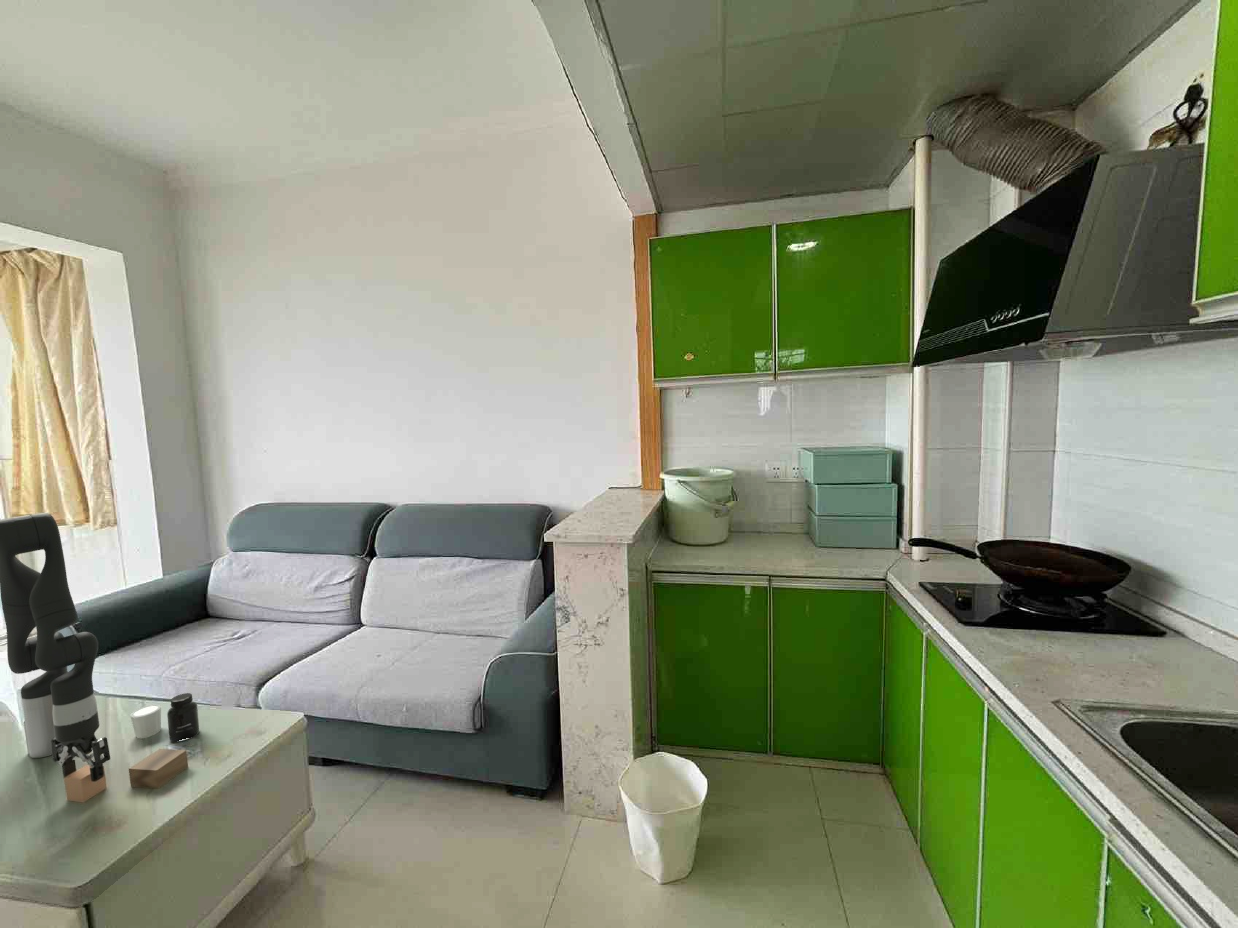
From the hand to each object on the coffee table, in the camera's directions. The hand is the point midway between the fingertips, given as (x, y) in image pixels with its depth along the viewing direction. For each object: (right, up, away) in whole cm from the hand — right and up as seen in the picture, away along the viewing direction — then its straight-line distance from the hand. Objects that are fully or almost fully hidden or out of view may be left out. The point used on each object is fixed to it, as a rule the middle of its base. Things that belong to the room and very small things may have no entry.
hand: (84, 777), depth 130 cm
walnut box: (+13, -4, +7) cm, 15 cm away
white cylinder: (-8, -3, +26) cm, 28 cm away
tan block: (0, -5, +1) cm, 5 cm away
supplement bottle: (+5, -2, +24) cm, 25 cm away
